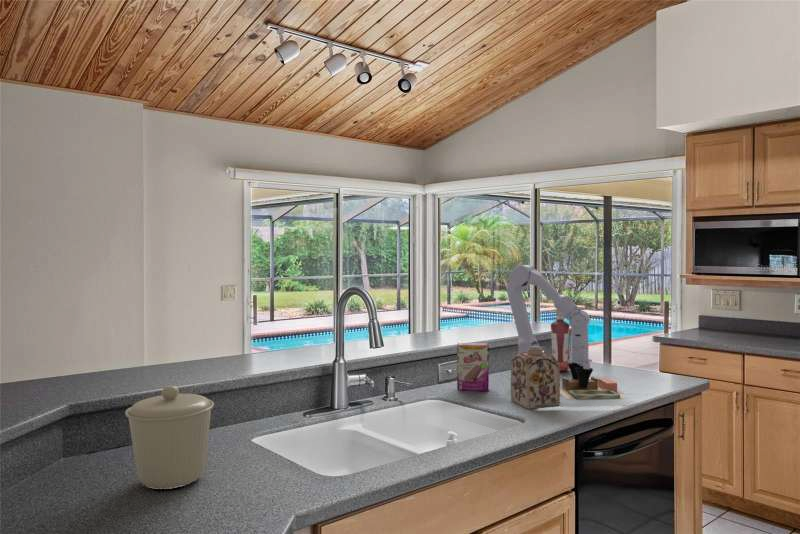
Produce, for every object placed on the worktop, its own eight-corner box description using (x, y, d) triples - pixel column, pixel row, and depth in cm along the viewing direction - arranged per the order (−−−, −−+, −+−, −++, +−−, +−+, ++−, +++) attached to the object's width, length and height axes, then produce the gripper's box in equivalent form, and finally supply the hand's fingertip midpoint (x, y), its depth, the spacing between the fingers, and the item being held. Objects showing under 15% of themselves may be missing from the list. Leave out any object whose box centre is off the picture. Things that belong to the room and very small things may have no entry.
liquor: (570, 373, 234) (569, 303, 233) (551, 372, 236) (550, 302, 235) (569, 369, 241) (568, 301, 241) (550, 368, 243) (550, 301, 242)
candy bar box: (457, 391, 207) (456, 344, 206) (457, 388, 212) (456, 342, 211) (489, 391, 206) (488, 345, 205) (488, 388, 211) (488, 342, 210)
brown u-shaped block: (565, 390, 200) (565, 379, 200) (562, 388, 204) (562, 377, 204) (597, 390, 201) (597, 379, 201) (593, 387, 205) (593, 376, 205)
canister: (187, 460, 141) (185, 373, 141) (232, 478, 130) (230, 383, 129) (111, 484, 127) (109, 388, 127) (153, 506, 116) (151, 400, 115)
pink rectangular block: (606, 392, 198) (606, 383, 198) (598, 386, 206) (597, 378, 206) (617, 391, 198) (617, 383, 198) (608, 386, 206) (608, 377, 206)
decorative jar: (560, 406, 185) (560, 349, 184) (527, 410, 182) (527, 352, 181) (541, 397, 196) (541, 344, 196) (510, 400, 193) (509, 346, 193)
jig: (567, 402, 189) (567, 396, 189) (552, 390, 206) (552, 384, 206) (628, 401, 190) (628, 394, 190) (609, 389, 206) (609, 383, 206)
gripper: (598, 350, 195) (599, 390, 195) (584, 343, 209) (584, 380, 210) (577, 350, 195) (578, 391, 195) (564, 343, 209) (564, 381, 210)
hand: (579, 385), depth 202 cm, fingers open, 6 cm apart
